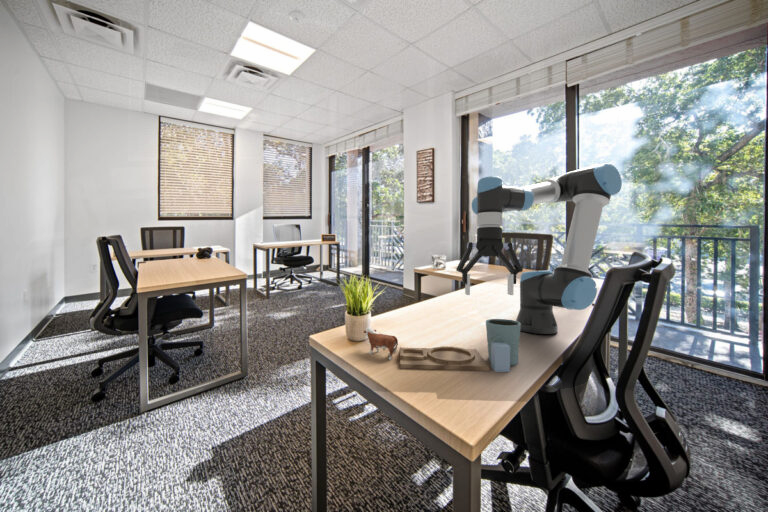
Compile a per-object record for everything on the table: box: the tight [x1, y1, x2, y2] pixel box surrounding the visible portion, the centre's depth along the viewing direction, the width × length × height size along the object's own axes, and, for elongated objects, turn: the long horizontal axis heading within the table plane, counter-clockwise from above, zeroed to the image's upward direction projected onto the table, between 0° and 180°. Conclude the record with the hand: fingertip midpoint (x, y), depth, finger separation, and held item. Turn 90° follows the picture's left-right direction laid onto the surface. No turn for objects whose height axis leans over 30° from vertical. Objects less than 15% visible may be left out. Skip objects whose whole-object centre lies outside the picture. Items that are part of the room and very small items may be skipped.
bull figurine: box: [363, 327, 399, 361], centre depth 102 cm, size 4×13×8 cm, turn 51°
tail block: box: [490, 343, 511, 373], centre depth 90 cm, size 4×4×7 cm
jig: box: [399, 345, 490, 372], centre depth 98 cm, size 25×16×2 cm, turn 87°
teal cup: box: [485, 318, 521, 367], centre depth 98 cm, size 10×10×12 cm
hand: (489, 294), depth 100 cm, fingers open, 13 cm apart
